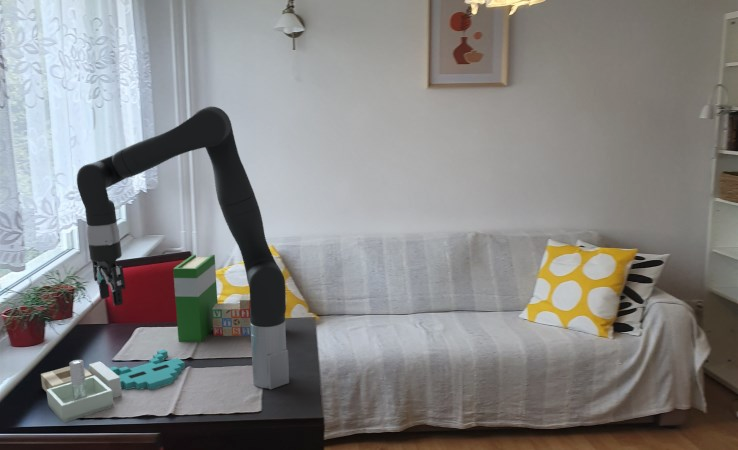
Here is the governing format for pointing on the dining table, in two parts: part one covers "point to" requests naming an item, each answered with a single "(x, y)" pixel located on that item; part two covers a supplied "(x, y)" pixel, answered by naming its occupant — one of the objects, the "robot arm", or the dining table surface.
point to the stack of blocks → (232, 318)
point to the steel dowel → (78, 379)
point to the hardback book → (195, 297)
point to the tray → (69, 409)
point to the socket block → (58, 377)
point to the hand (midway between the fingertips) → (111, 301)
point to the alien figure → (150, 372)
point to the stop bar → (106, 377)
